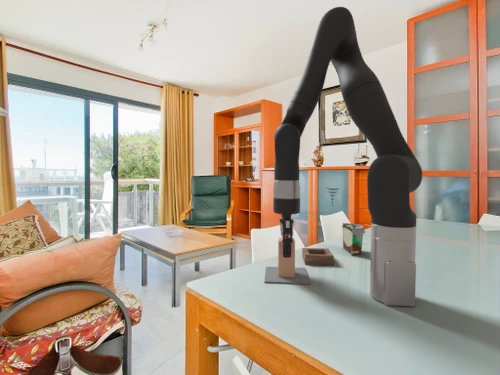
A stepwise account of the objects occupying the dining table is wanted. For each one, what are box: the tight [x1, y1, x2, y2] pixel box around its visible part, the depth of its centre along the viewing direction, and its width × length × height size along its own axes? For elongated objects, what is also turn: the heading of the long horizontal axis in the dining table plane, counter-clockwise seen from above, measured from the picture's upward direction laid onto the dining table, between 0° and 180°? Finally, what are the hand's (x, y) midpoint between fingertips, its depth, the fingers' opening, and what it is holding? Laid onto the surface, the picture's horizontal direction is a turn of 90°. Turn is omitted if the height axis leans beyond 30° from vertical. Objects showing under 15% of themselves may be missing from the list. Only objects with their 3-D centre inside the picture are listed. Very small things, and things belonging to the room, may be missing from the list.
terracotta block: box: [277, 237, 296, 277], centre depth 77 cm, size 4×4×10 cm
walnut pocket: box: [301, 247, 335, 266], centre depth 91 cm, size 9×9×3 cm
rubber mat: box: [264, 266, 311, 285], centre depth 77 cm, size 12×12×1 cm
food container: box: [341, 222, 366, 257], centre depth 102 cm, size 12×6×10 cm, turn 179°
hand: (286, 253), depth 77 cm, fingers open, 8 cm apart
